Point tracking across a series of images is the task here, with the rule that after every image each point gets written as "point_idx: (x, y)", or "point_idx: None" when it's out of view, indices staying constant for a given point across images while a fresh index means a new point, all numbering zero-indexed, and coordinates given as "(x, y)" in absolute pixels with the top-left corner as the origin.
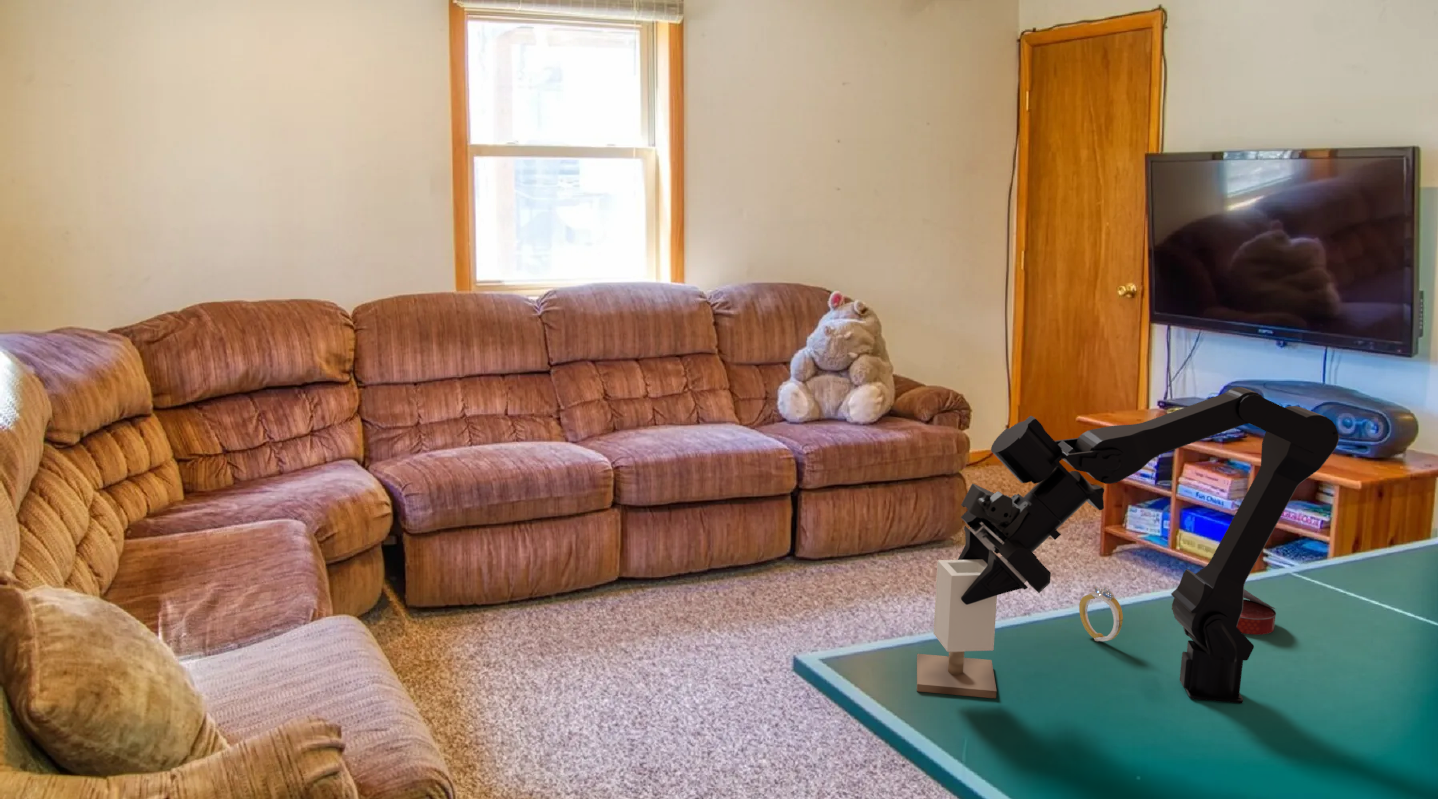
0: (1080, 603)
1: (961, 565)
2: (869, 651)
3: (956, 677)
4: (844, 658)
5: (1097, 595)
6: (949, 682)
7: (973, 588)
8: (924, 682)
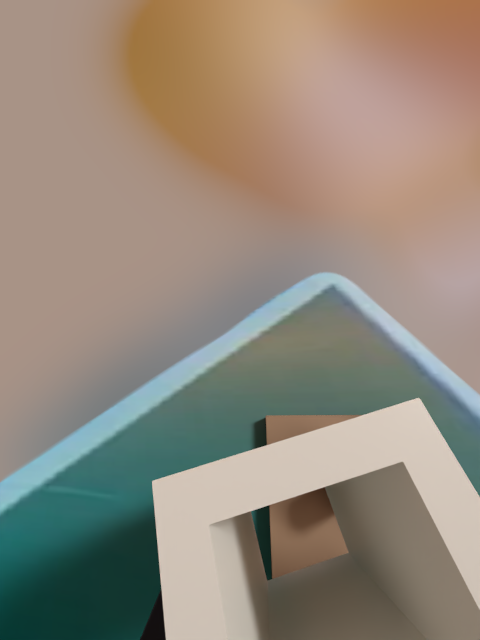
0: None
1: (453, 577)
2: (390, 341)
3: (313, 491)
4: (348, 312)
5: None
6: None
7: (144, 633)
8: (274, 427)
